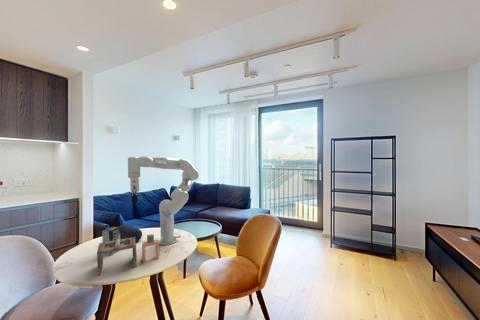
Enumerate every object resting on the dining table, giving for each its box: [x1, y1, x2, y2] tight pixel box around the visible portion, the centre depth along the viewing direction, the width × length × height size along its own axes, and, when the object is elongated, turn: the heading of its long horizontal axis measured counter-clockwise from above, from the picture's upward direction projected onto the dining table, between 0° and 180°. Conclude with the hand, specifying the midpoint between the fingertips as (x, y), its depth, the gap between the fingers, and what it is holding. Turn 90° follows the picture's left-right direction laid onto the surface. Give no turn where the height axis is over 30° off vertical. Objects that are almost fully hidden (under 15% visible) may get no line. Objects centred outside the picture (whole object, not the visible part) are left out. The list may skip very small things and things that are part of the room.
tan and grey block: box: [141, 233, 160, 263], centre depth 137 cm, size 9×4×15 cm, turn 118°
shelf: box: [96, 237, 137, 277], centre depth 129 cm, size 19×14×14 cm
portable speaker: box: [118, 224, 143, 243], centre depth 170 cm, size 25×10×10 cm, turn 57°
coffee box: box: [101, 226, 121, 256], centre depth 147 cm, size 9×6×16 cm
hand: (134, 200), depth 148 cm, fingers open, 9 cm apart
